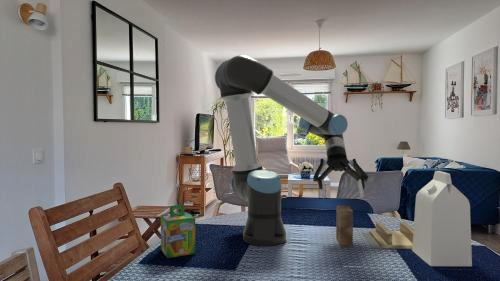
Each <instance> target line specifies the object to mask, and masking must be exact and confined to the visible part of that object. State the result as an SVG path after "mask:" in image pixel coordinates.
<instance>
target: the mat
mask: <svg viewBox="0 0 500 281" xmlns="http://www.w3.org/2000/svg"><path fill="white" fill-rule="evenodd" d="M360 233H361V235H362V237H363V238H364V239H365V241H366V242H367V243H368V244H369V246H370V247H371V249H380V250H383V249H384V250H389V249H390V250H393V249H394V250H410V249H409V248H381V247H380V245H379V244H378V243H377V242H376V241H375V239H374V238H373V237H372V236H371V235H370V232H360Z"/></svg>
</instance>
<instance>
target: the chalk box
mask: <svg viewBox="0 0 500 281" xmlns="http://www.w3.org/2000/svg"><path fill="white" fill-rule="evenodd" d="M176 209H178V210H180V211H179V212H175V210H176ZM160 251H162V253H163V254H164V256H165V257H166V258H167V259H171V258H177V257H182V256H190V255H195V254H196V218H195V217H194V216H193V215H192V214H190V213H188V212H186V211H185V206H184V204H175V205H170V206H169V213H166V214H161V215H160Z"/></svg>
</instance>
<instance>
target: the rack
mask: <svg viewBox="0 0 500 281" xmlns="http://www.w3.org/2000/svg"><path fill="white" fill-rule="evenodd" d="M413 232H414V228H413V227H411V226H410V225H409V224H407V223H406V222H405V221H399V230H390V229H388V228H387V227H386V226H385V225H384V224H383V223H382V222H381V221H375V230H369V233H370V235H371V236H372V237H373V238H374V239H375V241H376V242H377V243H378V244H379V245H380V247H381V248H409V249H408V250H412V247H413Z"/></svg>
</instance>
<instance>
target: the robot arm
mask: <svg viewBox="0 0 500 281" xmlns="http://www.w3.org/2000/svg"><path fill="white" fill-rule="evenodd" d="M214 82H215V85H216V86H217V88H218V89H219V92H220V98H221V99H222V100H223V101H224V102H225V106H226V112H227V117H228V125H229V132H230V137H231V143H232V151H233V158H234V165H233V167H232V169H231V170H232V171H231V172H232V177H231V180H230V187H231V190H232V192H233V193H234V195H235V196H236V197H237V198H238V199H240V200H242V201H244V202H246V203H247V218H246V222H245V225H244V228H243V232H242V240H243V241H244V242H245V243H247V244H249V245H254V246H260V247H261V246H262V247H267V246H268V247H269V246H277V245H281V244H283V243H285V242H286V241H287V232H286V229H285V226H284V225H285V224H284V223H283V219H282V186H283V185H282V180H281V175H279V173H277V172H276V171H275V172H274V171H271V170H265V169H263V164H262V163H261V162H259V160H258V154H257V150H256V143H255V134H254V127H253V122H252V114H251V108H250V101H249V98H250V97H251V95H252V94H253V93H254V94H256V95H264V96H265V97H267V98H268V99H270V100H272V101H273V102H275V103H277V104H278V105H280V106H281V107H283V108H285V109H287V110H288V111H290V112H291V113H293V114H295V115H297V116H298V117H299V121H298V127H299V128H300V129H301V130H303V131H305V132H307V133H310V134H312V135H314V136H317V137H318V138H322V139H324V144H325V150H326V152H325V153H326V159H327V160H324V158H320V160H319V165H318V167H317V169H316V171H315V172H314V175H313V178H312V181H313V182H317V186H318V189H319V190H321V194H322V199H325V198H326V196H327V195H326V185H325V179H326V178H327V176H328V175H329V174H330V173H331V172H333V171H334V172H343V171H344V172H345V173H346V174H348V175H349V176H351V178H352V177H353V179H354V180H356V181H357V186H358V187H357V188H358V191H359V192H358V194H359V198H360V199H364V197H365V193H364V190H365V187H366V184H365V183H366V182H368V179H369V176H368V175H367V173H366V172H365V171H364V170H363V169H362V167H361V166H360V165H359V164H358V163H357V162H358V161H357V159H356V158H353V159H351V160H349V159H348V155H347V150H346V145H345V144H346V143H345V140H344V136H343V134H344V133H345V132H346V131H347V129H348V126H349V125H348V124H349V123H348V120H347V118H346V117H345V115H343V114H340V113H333V112H332V111H331V110H329V109H326V108H325V107H323V106H322V105H321V104H320V103H317V102H316V101H314V100H313V99H311V98H310V97H308V96H307V95H305V94H303V93H302V92H301V91H299V90H297V89H296V88H295V87H293V86H291V85H290V84H288V83H287V82H285V81H284V80H282V79H280V78H279V77H277V75H274V70H272V69H270V68H269V67H268V66H266V65H264V64H263V63H261V62H260V61H258V60H256V59H254V58H252V57H250V56H248V55H241V54H240V55H239V54H238V55H236V56H233V57H231V58H229V59H228V60H225V61H223V62H222V63H221V64H219V65H218V67H217V69H216V70H215V73H214ZM252 92H253V93H252ZM326 165H327V168H326V169H325V170H324V171H323V172H322V170H323V167H325V166H326ZM352 167H353V168H352ZM321 172H322V173H321Z"/></svg>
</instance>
